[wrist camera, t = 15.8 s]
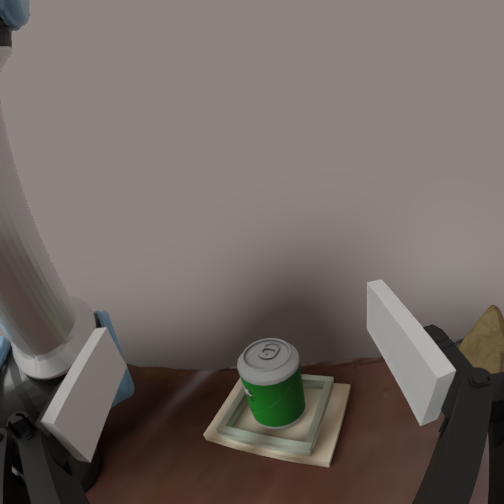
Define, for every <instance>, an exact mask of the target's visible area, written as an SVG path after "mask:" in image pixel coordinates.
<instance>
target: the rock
mask: <svg viewBox="0 0 504 504" xmlns="http://www.w3.org/2000/svg"><path fill="white" fill-rule="evenodd" d="M458 349H459V350H460V351H461V352H462V354H463V355H464V356H465V357H466V358H467V360H468V361H469V362H470V363H471V365H472V366H473V367H480V368H483V369H486V370H487V371H489V372H490V373H491V374H494V373H499V372H504V319H503V316H502V314H501V311H500V309H499V308H498V307H496V306H494V305H491V306H490V307H489V308H488V310H487V311H486V312H485V313H484V314H483V315H482V317H481V318H480V319H479V320H478V321H477V323H476V324H475V326H474V327H473V328H472V330H471V331H470V332H469V334H467V335H466V337H465V338H464V340H463V341H462V343H461V345H460V346H459V347H458Z"/></svg>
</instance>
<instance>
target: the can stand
mask: <svg viewBox="0 0 504 504" xmlns="http://www.w3.org/2000/svg"><path fill="white" fill-rule="evenodd" d="M301 375H302V382H303V390H304V397H305V405H306V408H305V412H304V415H303V416H302V418H301V419H300V420H299V421H298V422H296V423H295V424H294V425H292V426H289V427H287V428H284V429H268V428H265V427H263V426H261V425H260V424H259V423H258V422H256V421H255V419H254V416H253V414H252V411H251V408H250V405H249V402H248V399H247V396H246V393H245V390H244V387H243V384H242V381H241V378H240V379H239V380H238V382H237V383H236V385H235V387H234V388H233V390H232V391H231V393H230V394H229V396H228V398H227V399H226V401H225V402H224V404H223V405H222V407H221V408H220V410H219V412H218V413H217V415H216V416H215V418H214V419H213V421H212V422H211V424H210V425H209V427H208V428H207V430H206V431H205V433H204V434H203V435H204V437H205V438H206V440H208V441H211V442H214V443H218V444H221V445H224V446H228V447H231V448H235V449H238V450H242V451H246V452H250V453H254V454H258V455H262V456H267V457H271V458H276V459H281V460H286V461H291V462H297V463H303V464H309V465H316V466H323V467H329V466H330V463H331V460H332V457H333V454H334V450H335V447H336V444H337V440H338V437H339V433H340V430H341V426H342V422H343V418H344V414H345V410H346V406H347V402H348V398H349V394H350V384H339V383H334V377H329V376H317V375H306V374H301Z"/></svg>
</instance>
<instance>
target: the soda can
mask: <svg viewBox="0 0 504 504" xmlns="http://www.w3.org/2000/svg"><path fill="white" fill-rule="evenodd" d="M237 368H238V372H239V375H240V378H241V381H242V384H243V387H244V390H245V393H246V396H247V399H248V402H249V405H250V408H251V411H252V414H253V416H254V419H255V421H256V422H258V423H259V424H260V425H261V426H263V427H265V428H268V429H284V428H287V427H289V426H292V425H294V424H295V423H296V422H298V421H299V420H300V419H301V418H302V416H303V415H304V412H305V408H306V405H305V397H304V390H303V382H302V375H301V368H300V361H299V355H298V351H297V350H296V348H295V347H294V346H292V345H291V344H289V343H287V342H285V341H283V340H280V339H276V338H267V339H262V340H258V341H256V342H254V343H252V344H250V345H249V346H248V347H247V348H246V349H245V350H244V352H243V353H242V354H241V355H240V357H239V359H238V363H237Z"/></svg>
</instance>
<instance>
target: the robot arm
mask: <svg viewBox="0 0 504 504" xmlns="http://www.w3.org/2000/svg"><path fill="white" fill-rule="evenodd" d="M29 15H30V14H29V0H0V71H1V70H2V68H3V66H4V65H5V63H6V62H7V60H8V58H9V57H10V55H11V54H12V41H11V33H12V31H13V30H15V31H17V30H19V29H20V28H21V27H22V26H23V25H25V24H26V23H27V22H28V20H29ZM0 326H1V328H2V329H3V331H4V332H5V333H6V334H7V336H8V337H9V338H10V339H11V340H12V342H13V346H11V343H10V341H9V340H8V339H7V338H6V337H5V336H3V335H1V336H0V504H90V503H89V501H88V499H87V497H86V494H85V491H86V490H87V489H88V488H89V487H90V486H91V485H92V483H93V482H94V480H95V479H96V477H97V474H98V471H99V467H100V454H99V451H98V448H97V443H98V440H99V437H100V435H101V432H102V429H103V426H104V424H105V421H106V418H107V416H108V413H109V410H110V408H111V407H113V406H115V405H116V404H117V403H119V402H121V401H123V400H125V399H128V398H129V397H131V396H132V394H133V392H134V384H133V381H132V378H131V376H130V373H129V371H128V368H127V365H126V363H125V360H124V358H123V355H122V352H121V350H120V347H119V344H118V341H117V338H116V335H115V332H114V329H113V326H112V323H111V320H110V317H109V314H108V313H107V312H106V311H95V312H94V313H93V312H92V310H91V308H90V307H89V306H88V304H87V303H86V302H84V301H83V300H81V299H79V298H77V297H73V296H69V295H68V293H67V291H66V289H65V287H64V285H63V283H62V282H61V280H60V278H59V276H58V274H57V272H56V270H55V267H54V265H53V263H52V261H51V259H50V257H49V255H48V253H47V250H46V248H45V246H44V244H43V241H42V239H41V237H40V234H39V232H38V229H37V227H36V225H35V222H34V219H33V217H32V214H31V212H30V209H29V206H28V204H27V201H26V198H25V195H24V192H23V189H22V186H21V183H20V180H19V177H18V174H17V170H16V167H15V164H14V160H13V156H12V152H11V149H10V145H9V141H8V137H7V132H6V128H5V123H4V119H3V113H2V108H1V102H0ZM367 330H368V332H369V333H370V335H371V337H372V338H373V340H374V342H375V344H376V345H377V347H378V349H379V351H380V352H381V354H382V356H383V358H384V359H385V361H386V363H387V365H388V367H389V368H390V370H391V372H392V374H393V376H394V377H395V379H396V381H397V383H398V385H399V386H400V388H401V390H402V392H403V394H404V396H405V398H406V399H407V401H408V403H409V405H410V407H411V409H412V411H413V413H414V415H415V417H416V419H417V421H418V422H419V424H420V426H422V425H425V424H427V423H429V422H432V421H434V420H436V419H438V416H439V414H440V412H441V410H442V412H443V414H444V415H445V419H444V421H443V423H442V425H441V427H440V430H439V432H440V435H439V438H438V441H437V444H436V447H435V450H434V452H433V455H432V458H431V461H430V463H429V466H428V468H427V471H426V473H425V476H424V478H423V481H422V483H421V485H420V488H419V490H418V492H417V494H416V497H415V499H414V501H413V503H412V504H469V501H470V498H471V495H472V492H473V489H474V486H475V482H476V479H477V475H478V472H479V468H480V464H481V460H482V456H483V452H484V447H485V442H486V437H487V432H488V437H489V495H488V504H504V372H499V373H494V374H491V373H490V372H489V371H487V370H486V369H483V368H480V367H473V366H472V365H471V363H470V362H469V361H468V360H467V358H466V357H465V356H464V355H463V354H462V352H461V351H460V350H459V349H458V348H457V346H456V345H454V343H453V342H452V340H451V339H449V337H448V336H447V335H446V333H444V331H443V330H442V329H440V328H438V327H436V326H434V325H430V326H426V327H422V326H421V325H420V324H419V322H418V321H417V320H416V319H415V318H414V316H413V315H412V314H411V313H410V312H409V310H408V309H407V308H406V307H405V306H404V305H403V304H402V302H401V301H400V300H399V299H398V298H397V296H396V295H395V294H394V293H393V292H392V291H391V290H390V288H389V287H388V286H387V285H386V284H385V283H384V282H383V281H382V279H380V280H376V281H372V282H368V283H367ZM12 467H13V468H14V469H15V470H16V471H17V475H15V474H14V473H13V472H12Z"/></svg>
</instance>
